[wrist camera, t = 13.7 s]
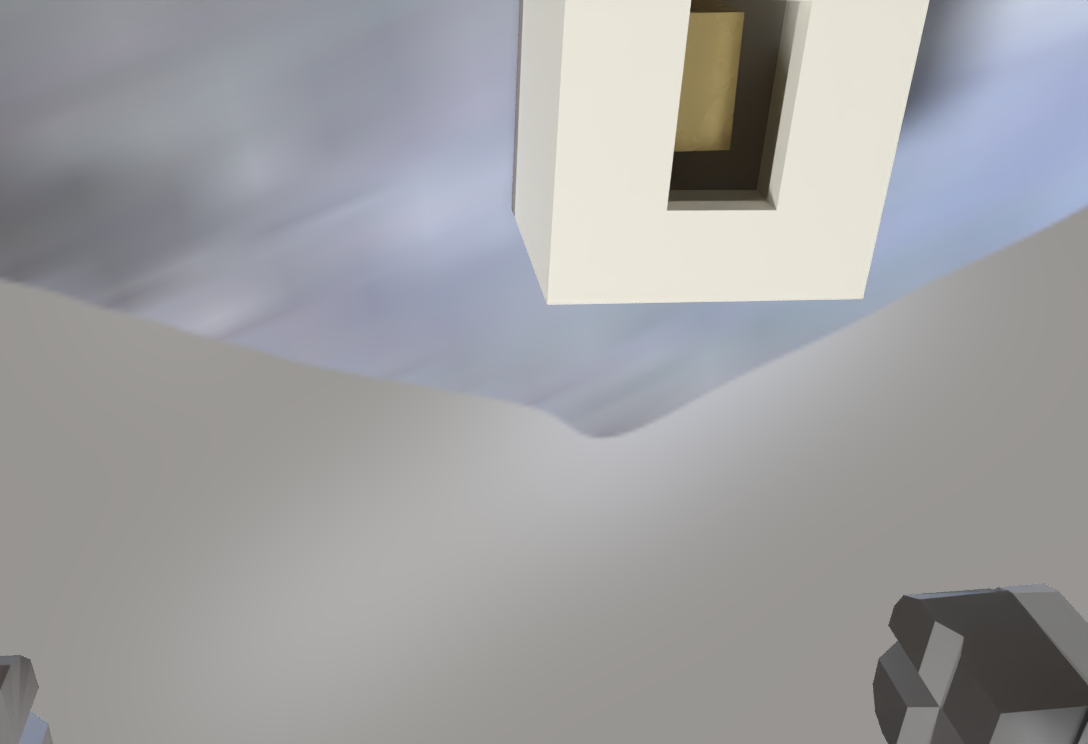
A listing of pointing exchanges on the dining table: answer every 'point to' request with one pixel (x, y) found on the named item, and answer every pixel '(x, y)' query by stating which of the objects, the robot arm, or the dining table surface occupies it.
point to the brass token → (709, 76)
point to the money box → (707, 176)
